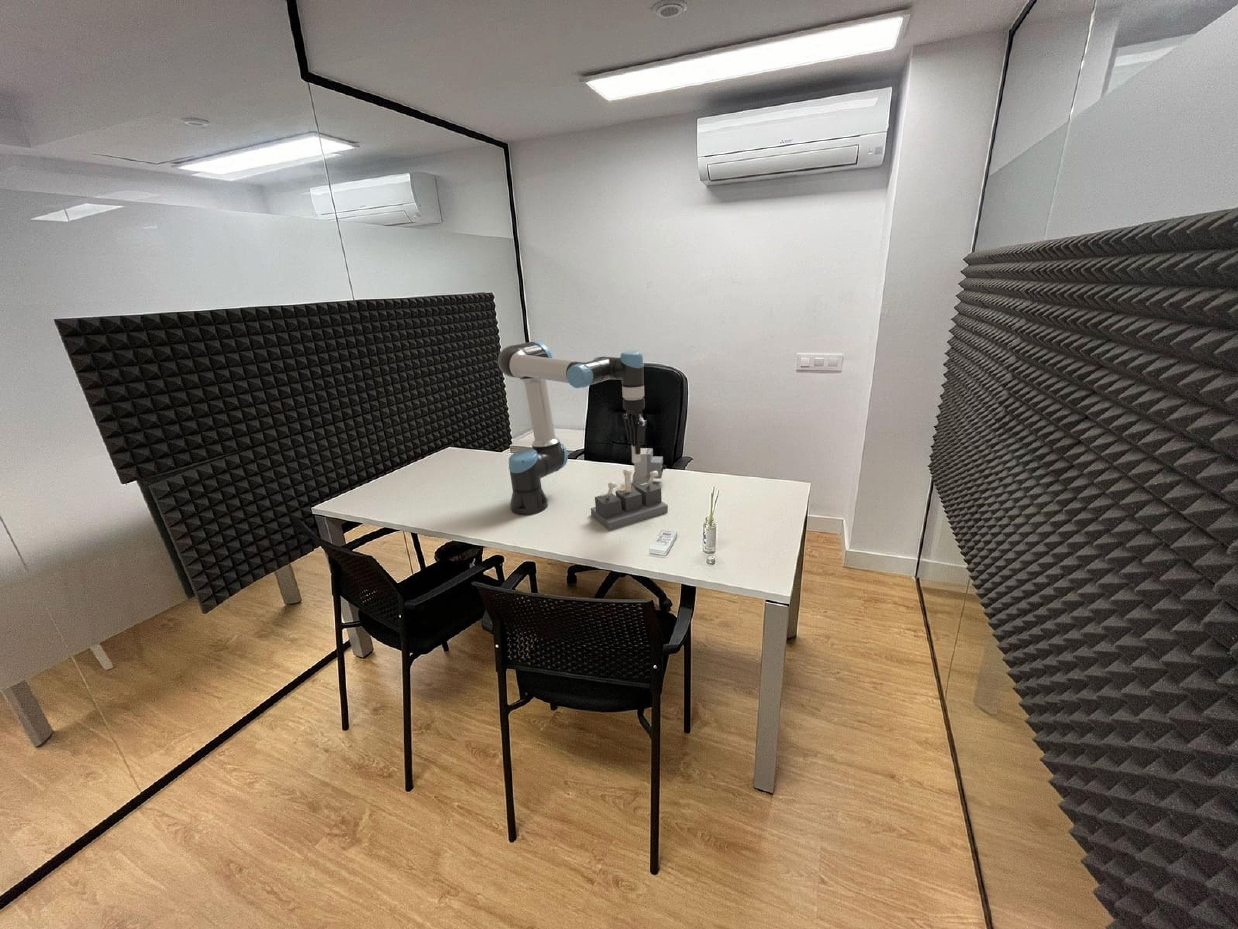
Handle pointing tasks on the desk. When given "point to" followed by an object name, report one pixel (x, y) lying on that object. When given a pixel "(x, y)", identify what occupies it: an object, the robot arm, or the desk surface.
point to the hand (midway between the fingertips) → (636, 461)
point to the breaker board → (630, 515)
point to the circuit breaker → (647, 467)
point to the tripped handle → (627, 480)
